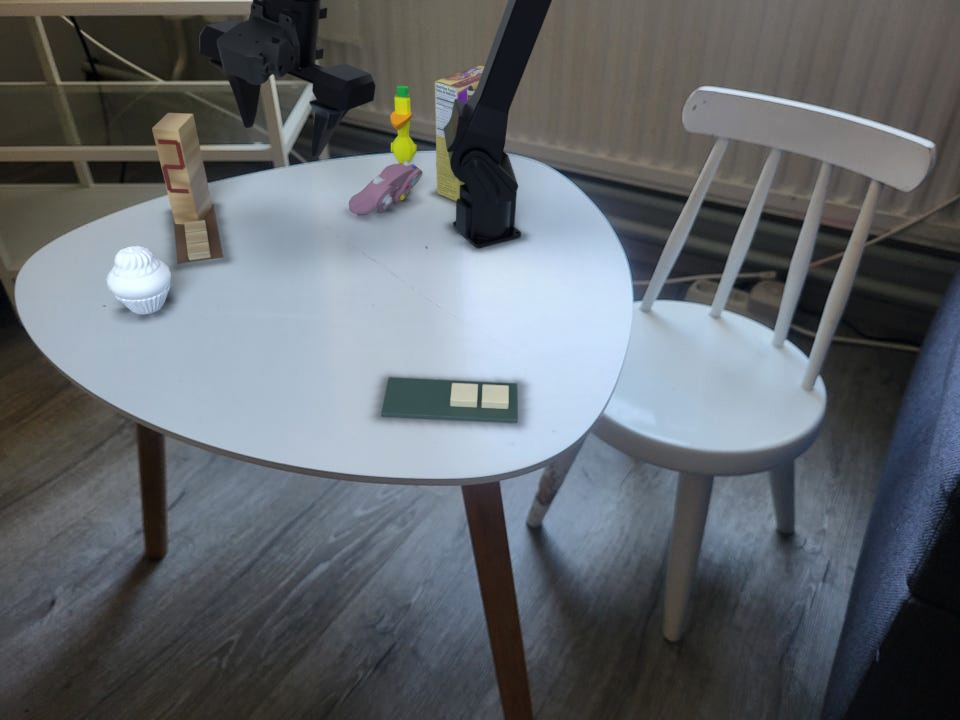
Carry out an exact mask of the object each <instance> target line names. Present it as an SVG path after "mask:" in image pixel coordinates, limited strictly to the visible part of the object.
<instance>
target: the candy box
mask: <svg viewBox="0 0 960 720" xmlns="http://www.w3.org/2000/svg"><path fill="white" fill-rule="evenodd" d="M484 66H485V65H477V66H475V67H472V68H469V69H467V70H464V71H459V72H457V73H454V74H452V75H449V76H445V77H443V78H441V79H437V80H435V81H434V107H435V108H434V109H435V111H434V112H435V113H434V114H435V115H434V117H435V119H434V120H435V160H436V194H438V195H439V196H441V197H444V198H446V199H448V200H451V201H454V202H456V200H457V199H458V198H460V185H463V184H465V183H463V182H461V181H459V180H458V179H457V178H456V177H455V176H454V174H453V172H452V170H451V166H450V160H449V154H448V152H447V147H446V141H445V135H444V127H445V126H446V125H447V124H448V122H449V120H450V118H451V115H452V109H453V104H454V100H455V99H458V100H460V101H461V102H463V103H466V102H467V101H468V100H469V98H470V97H471V96H472V95H473V93H474V92H475V90H476V88H477V86H478V83H479V80H480V78H481V75H482V72H483V69H484Z"/></svg>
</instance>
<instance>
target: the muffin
mask: <svg viewBox="0 0 960 720" xmlns="http://www.w3.org/2000/svg"><path fill="white" fill-rule="evenodd" d="M113 260H114V264H113V266H112V268H111V269H110V271H109V273H108V274H107V276H106V280H105V281H106V285H107V288H108V290H109V291H110V292H111V294H113V296H114V297H115V298H116V300H118V301H119V302H120V303H122V304H123V305H124V306H125V307H126V308H128V309H129V310H130V311H131V312H132V313H134V314H136V315H142V316H143V315H145V316H146V315H150V314H153V313H156V312H159V311H160V310H161V309H162V308H163V305H165V303H166V300H167V297H168V294H169V291H170V288H171V281H172V272H171V269H170V267H169V266H168V264H166V262H164V261H162V260H161V259H158V258H157V257H155V256H154V255H153V253H152V251H151V250H150V249H149V248H147V247H144V246H142V245H131V246H130V245H129V246H127V247H123V248H122V249H120V250H119V251H118V252H117V253H116V254H115V256H114V259H113Z"/></svg>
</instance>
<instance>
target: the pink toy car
mask: <svg viewBox="0 0 960 720" xmlns="http://www.w3.org/2000/svg"><path fill="white" fill-rule="evenodd" d="M422 176H423V170H422V169H420V168H419V167H418V166H417V165H416V164H414V163H411V162H408V160H406V161H405V162H404V163H402V164H399V163H393V164H390V165H387V166H386V167H385V168H384V169H383V170H382V171H381V172H380V173H379V174H378V175H377V176H375V177H374V178H373V179H372V180H370V182H368V184H367V185H366V186H365V187H364V188H363V189H362V190H360V191H359V192H357V193H356V194H354V195H353V196H351V198H350V199H349V201H348V209H349V211H350V212H351V213H354V214H356V215H366V214H368V213H370V212H372V211H374V210H375V209H377V211H379V212H380V213H385V211H387V210H388V209H389V208H390V206H391V205H392V203H393V202H394V203H395V204H399V203H400V202H402V201H405V198H406V196H407V195H408V193H409V192H410V191H411V190H413V188H414V187H415V186H416V185H417V184H418V183H419V181H420V180H421V178H422Z"/></svg>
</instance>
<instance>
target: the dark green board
mask: <svg viewBox="0 0 960 720" xmlns="http://www.w3.org/2000/svg"><path fill="white" fill-rule="evenodd" d="M381 417H386V418H387V417H389V418H393V417H394V418H408V419H409V418H410V419H428V420H429V419H430V420H451V421H468V422H469V421H470V422H491V423H493V422H494V423H509V424H510V423H511V424H512V423H513V424H517V423H518V383H516V382H515V383H514V382H513V383H512V382H493V381H492V382H491V381H472V380H454V379H453V380H452V379H451V380H450V379H433V378H431V379H429V378H413V377H412V378H411V377H391V376H390V377H389V376H388V379H387V383H386V389H385V393H384V399H383V403H382V407H381Z"/></svg>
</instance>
